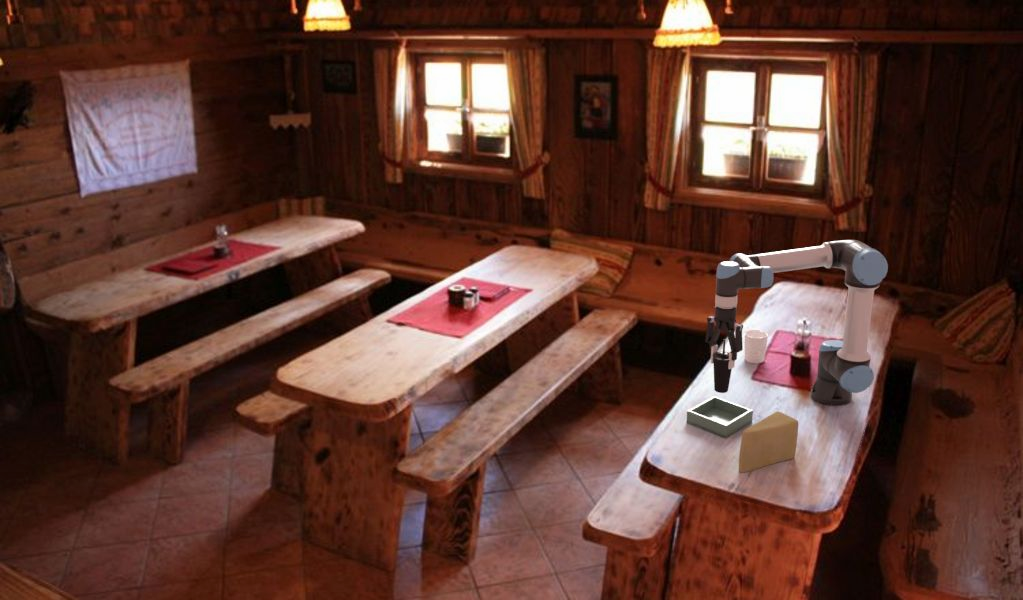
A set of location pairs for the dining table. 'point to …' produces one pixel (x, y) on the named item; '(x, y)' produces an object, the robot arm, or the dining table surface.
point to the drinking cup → (721, 370)
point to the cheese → (768, 442)
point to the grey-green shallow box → (719, 416)
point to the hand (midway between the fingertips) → (722, 364)
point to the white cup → (755, 346)
